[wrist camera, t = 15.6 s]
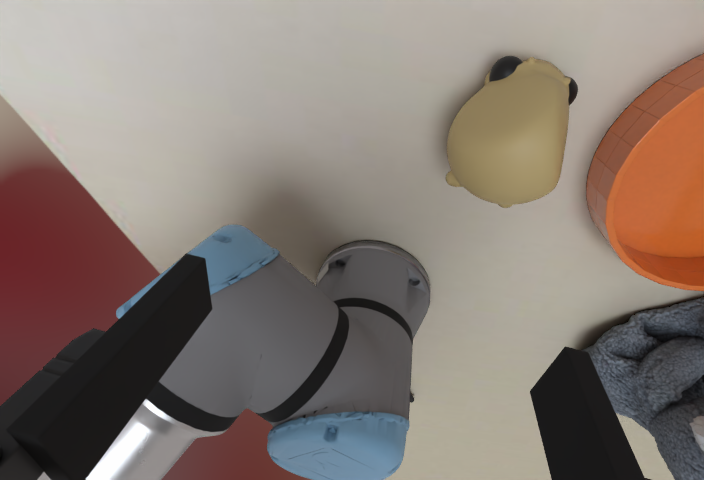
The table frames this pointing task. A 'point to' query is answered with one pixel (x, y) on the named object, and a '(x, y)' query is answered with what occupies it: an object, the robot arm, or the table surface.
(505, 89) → the beige pug toy
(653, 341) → the koala plush
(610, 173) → the pan
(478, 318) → the table surface
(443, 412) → the table surface
